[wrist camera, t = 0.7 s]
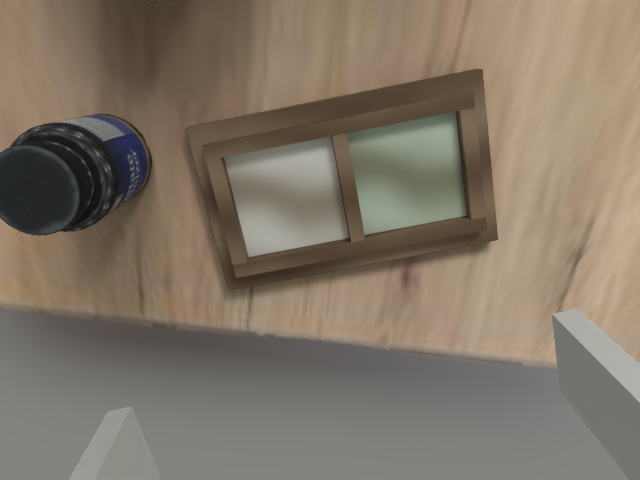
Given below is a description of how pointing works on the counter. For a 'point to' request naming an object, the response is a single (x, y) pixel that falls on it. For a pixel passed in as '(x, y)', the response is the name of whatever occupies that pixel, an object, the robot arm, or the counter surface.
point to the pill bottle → (71, 173)
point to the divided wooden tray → (348, 179)
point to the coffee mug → (158, 0)
